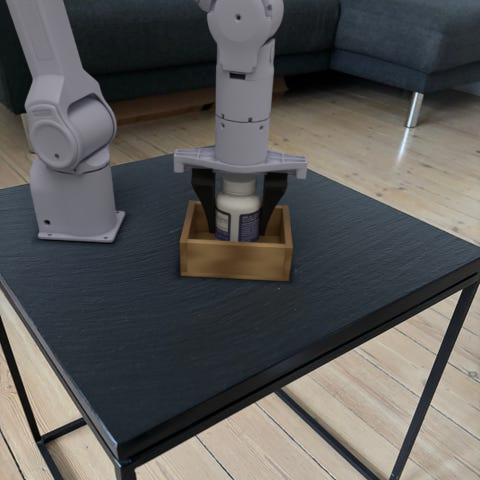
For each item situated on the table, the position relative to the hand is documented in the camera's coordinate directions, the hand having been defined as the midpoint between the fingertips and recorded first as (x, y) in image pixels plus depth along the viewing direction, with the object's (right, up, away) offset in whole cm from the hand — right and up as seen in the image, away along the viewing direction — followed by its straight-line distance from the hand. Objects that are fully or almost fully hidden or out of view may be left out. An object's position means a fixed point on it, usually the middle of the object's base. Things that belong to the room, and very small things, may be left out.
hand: (237, 230), depth 62 cm
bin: (0, -3, +2) cm, 3 cm away
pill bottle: (0, -2, +2) cm, 3 cm away
